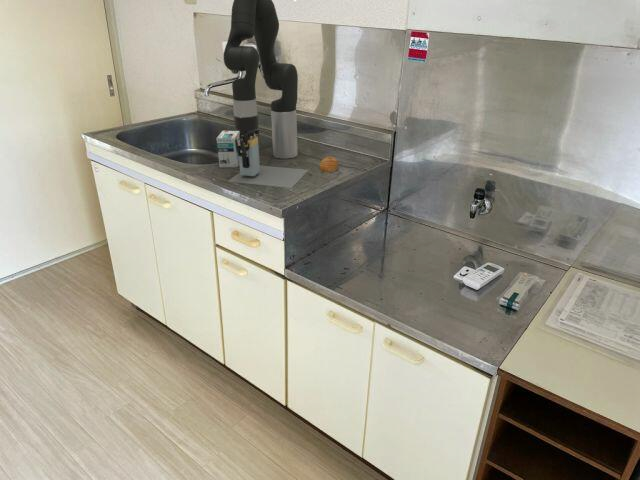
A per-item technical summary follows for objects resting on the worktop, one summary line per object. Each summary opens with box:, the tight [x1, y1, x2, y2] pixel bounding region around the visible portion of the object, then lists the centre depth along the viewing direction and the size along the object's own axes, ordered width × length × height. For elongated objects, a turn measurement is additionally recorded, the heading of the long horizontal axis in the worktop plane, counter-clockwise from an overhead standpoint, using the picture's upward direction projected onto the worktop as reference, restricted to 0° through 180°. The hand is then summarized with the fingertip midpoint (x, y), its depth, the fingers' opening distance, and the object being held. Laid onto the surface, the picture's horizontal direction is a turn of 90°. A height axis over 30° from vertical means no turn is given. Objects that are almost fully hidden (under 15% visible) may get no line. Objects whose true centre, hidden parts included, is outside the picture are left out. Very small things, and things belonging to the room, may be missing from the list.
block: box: [238, 136, 260, 176], centre depth 158 cm, size 5×5×12 cm
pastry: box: [319, 156, 340, 174], centre depth 167 cm, size 9×7×4 cm
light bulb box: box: [216, 130, 240, 168], centre depth 173 cm, size 11×7×11 cm, turn 179°
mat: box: [227, 165, 309, 189], centre depth 162 cm, size 18×22×1 cm
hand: (249, 164), depth 160 cm, fingers closed on block, 5 cm apart
